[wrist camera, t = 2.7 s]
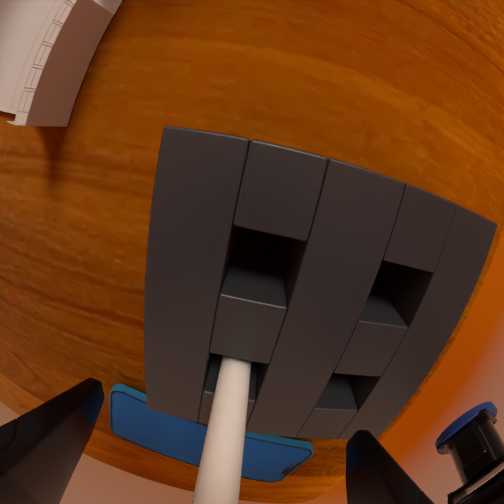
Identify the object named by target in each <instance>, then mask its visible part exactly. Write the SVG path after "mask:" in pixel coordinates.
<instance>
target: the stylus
mask: <svg viewBox="0 0 504 504" xmlns="http://www.w3.org/2000/svg"><path fill="white" fill-rule="evenodd" d="M250 371H251V361H249V360H243V359H238V358H233V357H229V356H224V355H223V357H222V362H221V366H220V371H219V376H218V380H217V385H216V390H215V394H214V399H213V404H212V409H211V413H210V418H209V423H208V428H207V432H206V437H205V442H204V447H203V452H202V457H201V461H200V466H199V471H198V476H197V481H196V486H195V491H194V496H193V501H192V504H238V502H239V492H240V481H241V471H242V460H243V449H244V439H245V428H246V416H247V405H248V394H249V382H250Z"/></svg>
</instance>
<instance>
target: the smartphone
mask: <svg viewBox="0 0 504 504" xmlns="http://www.w3.org/2000/svg"><path fill="white" fill-rule="evenodd" d="M109 410H110V429H111V431H112V432H113V433H114V434H116V435H117V436H119V437H121V438H123V439H125V440H127V441H129V442H132V443H134V444H136V445H139V446H141V447H143V448H146V449H148V450H151V451H153V452H156V453H159V454H161V455H164V456H167V457H169V458H172V459H175V460H178V461H181V462H184V463H187V464H191V465H194V466H197V467H199V466H200V461H201V457H202V452H203V447H204V442H205V437H206V432H207V428H208V424H203V423H199V421H197V422H195V421H191V420H186V419H183V418H179V417H175V416H171V415H168V414H164V413H161V412H157V411H154V410H151V409H148V408H147V397H146V394H144V393H142V392H140V391H137V390H135V389H133V388H131V387H129V386H127V385H124V384H115V385H114V386H113V388H112V389H111V391H110V394H109ZM312 455H313V445H312V444H311V443H310V442H307V441H302V440H296V439H290V438H285V437H280V436H275V435H266V434H259V433H251V432H246V431H245V439H244V449H243V460H242V471H241V478H246V479H251V480H257V481H263V482H278V481H281V480H282V479H284V478H285V477H286V476H288V475H289V474H290V473H291V472H293V471H294V470H295V469H296V468H298V467H299V466H300V465H301V464H303V463H304V462H305V461H306V460H307V459H309V458H310V457H311V456H312Z"/></svg>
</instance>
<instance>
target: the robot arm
mask: <svg viewBox="0 0 504 504" xmlns="http://www.w3.org/2000/svg"><path fill="white" fill-rule="evenodd" d="M103 401H104V392H103V388H102V383H101V382H100V381H99V380H96V379H94V378H88V379H86V380H84V381H83V382H81V383H79V384H77V385H76V386H74V387H72V388H70V389H69V390H67V391H65V392H63V393H62V394H60V395H58V396H56V397H54V398H53V399H51V400H49V401H47V402H45V403H44V404H42V405H40V406H38V407H36V408H35V409H33V410H31V411H29V412H27V413H25V414H24V415H22V416H20V417H18V418H17V419H14V420H12V421H10V422H9V423H6V424H4V425H2V426H1V427H0V504H59V503H60V501H61V499H62V496H63V494H64V492H65V490H66V487H67V485H68V483H69V481H70V478H71V476H72V474H73V472H74V470H75V468H76V465H77V463H78V461H79V459H80V457H81V455H82V453H83V451H84V449H85V447H86V445H87V443H88V441H89V439H90V436H91V434H92V432H93V429H94V426H95V423H96V420H97V418H98V415H99V412H100V409H101V407H102V404H103ZM496 422H497V419H496V417H494V416H493V415H492V414H491V413H490V412H489V411H488V410H487V409H484V410H482V411H481V412H480V413H479V414H478V415H477V416H475V417H474V418H473V419H472V420H471V421H470V422H468V423H467V424H466V425H465V426H464V427H462V428H461V429H460V430H459V431H457V432H456V433H455V434H454V435H452V436H451V437H450V438H448V439H447V440H446V441H444V442H443V443H442V444H440V445H439V446H438V447H437V448H438V451H442V452H445V453H449V454H451V457H452V459H453V461H454V464H455V466H456V469H457V471H458V474H459V476H460V479H461V482H462V484H463V486H462V487H461V488H459V489H457V490H456V491H454V492H451V493H450V494H448V504H504V469H503V470H502V471H500V470H501V469H502V468H503V467H504V443H503V441H502V439H501V437H500V435H499V433H498V432H497V430H496V428H495V426H494V424H495V423H496ZM498 471H500V472H499V473H498V474H496V473H497V472H498ZM494 474H496V475H495V476H494V477H492V476H493V475H494ZM490 477H492V478H491V479H490V480H488V479H489V478H490ZM486 480H488V481H487V482H486V483H484V484H483V485H481V486H480V487H479V488H477V489H476V490H474V491H473V492H471V493H470V494H468V495H467V493H469V492H470V491H472V490H473V489H475V488H476V487H478V486H479V485H480V484H482V483H483V482H485V481H486ZM346 490H347V502H348V504H434V503H433V502H432V501H431V500H430V499H429V498H428V497H427V496H426V495H425V494H424V492H423V491H421V489H420V488H419V487H418V486H417V485H416V484H415V483H414V481H413V480H412V479H411V478H410V477H409V476H408V475H407V474H406V473H405V472H404V470H403V469H402V468H401V467H400V466H399V465H398V463H397V462H396V461H395V460H394V459H393V458H392V457H391V455H390V454H389V453H388V452H387V451H386V450H385V449H384V447H382V445H381V444H380V443H379V442H378V441H377V439H376V438H375V437H374V436H373V435H372V434H371V432H370V431H368V430H358V431H356V432H355V433H354V435H353V436H352V437H351V438H350V440H349V441H348V443H347V446H346Z"/></svg>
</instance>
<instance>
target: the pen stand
mask: <svg viewBox="0 0 504 504" xmlns="http://www.w3.org/2000/svg"><path fill="white" fill-rule="evenodd" d="M238 227H242V228H247V229H252V230H256V231H261V232H265V233H270V234H274V235H279V236H283V237H288V238H289V239H288V243H287V247H286V251H285V255H284V258H283V262H279V261H274V260H270V259H265V258H260V257H256V256H251V255H247V254H242V253H237V252H234V253H233V251H234V246H235V241H236V236H237V231H238ZM496 228H497V224H496V223H494V222H493V221H491V220H489V219H487V218H485V217H483V216H481V215H479V214H477V213H475V212H473V211H471V210H468V209H466V208H464V207H462V206H460V205H458V204H455V203H453V202H451V201H449V200H447V199H444V198H442V197H440V196H437V195H435V194H432V193H430V192H428V191H425V190H423V189H420V188H418V187H415V186H413V185H410V184H407V183H404V182H402V181H399V180H397V179H394V178H391V177H388V176H386V175H383V174H380V173H377V172H374V171H371V170H368V169H365V168H362V167H359V166H356V165H352V164H349V163H346V162H343V161H339V160H336V159H332V158H327V157H325V156H322V155H318V154H314V153H310V152H307V151H303V150H299V149H295V148H291V147H286V146H282V145H278V144H273V143H269V142H264V141H259V140H255V139H253V140H249V139H248V138H244V137H239V136H234V135H228V134H222V133H216V132H210V131H203V130H197V129H189V128H182V127H173V126H165V127H164V129H163V135H162V140H161V145H160V151H159V157H158V163H157V169H156V176H155V183H154V190H153V198H152V206H151V215H150V224H149V235H148V246H147V260H146V277H145V303H144V355H145V381H146V397H147V408H148V409H151V410H154V411H157V412H161V413H164V414H168V415H171V416H175V417H179V418H183V419H186V420H191V421H195V422H197V421H199V423H203V424H208V423H209V418H210V413H211V409H212V404H213V399H214V394H215V390H216V385H217V380H218V376H219V371H220V366H221V362H222V357H223V355H224V356H229V357H233V358H238V359H243V360H249V361H251V371H250V382H249V394H248V405H247V416H246V428H245V431H246V432H251V433H259V434H266V435H275V436H285V437H298V438H315V439H350V438H351V437H352V436H353V435H354V433H355V432H356V431H358V430H368V431H370V432H371V434H372V435H373V436H374V437H375V438H378V437H379V436H380V435H381V434H382V433H383V432H384V431H385V429H386V428H387V427H388V426H389V425H390V423H391V422H392V421H393V420H394V419H395V417H396V416H397V415H398V414H399V412H400V411H401V410H402V409H403V407H404V406H405V405H406V404H407V402H408V401H409V400H410V398H411V397H412V396H413V394H414V393H415V391H416V390H417V389H418V387H419V386H420V384H421V383H422V381H423V380H424V379H425V377H426V376H427V374H428V373H429V371H430V370H431V368H432V366H433V365H434V363H435V362H436V360H437V359H438V357H439V355H440V354H441V352H442V350H443V349H444V347H445V345H446V343H447V342H448V340H449V338H450V336H451V335H452V333H453V331H454V329H455V327H456V325H457V323H458V322H459V320H460V318H461V316H462V314H463V312H464V310H465V308H466V305H467V303H468V301H469V299H470V297H471V295H472V292H473V290H474V288H475V286H476V283H477V281H478V278H479V276H480V274H481V271H482V268H483V266H484V263H485V261H486V258H487V255H488V252H489V249H490V247H491V244H492V241H493V237H494V234H495V231H496ZM382 259H383V260H384V262H383V265H382V268H381V270H380V273H379V276H378V278H377V281H376V282H374V280H375V278H376V275H377V273H378V270H379V267H380V264H381V262H382Z"/></svg>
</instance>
